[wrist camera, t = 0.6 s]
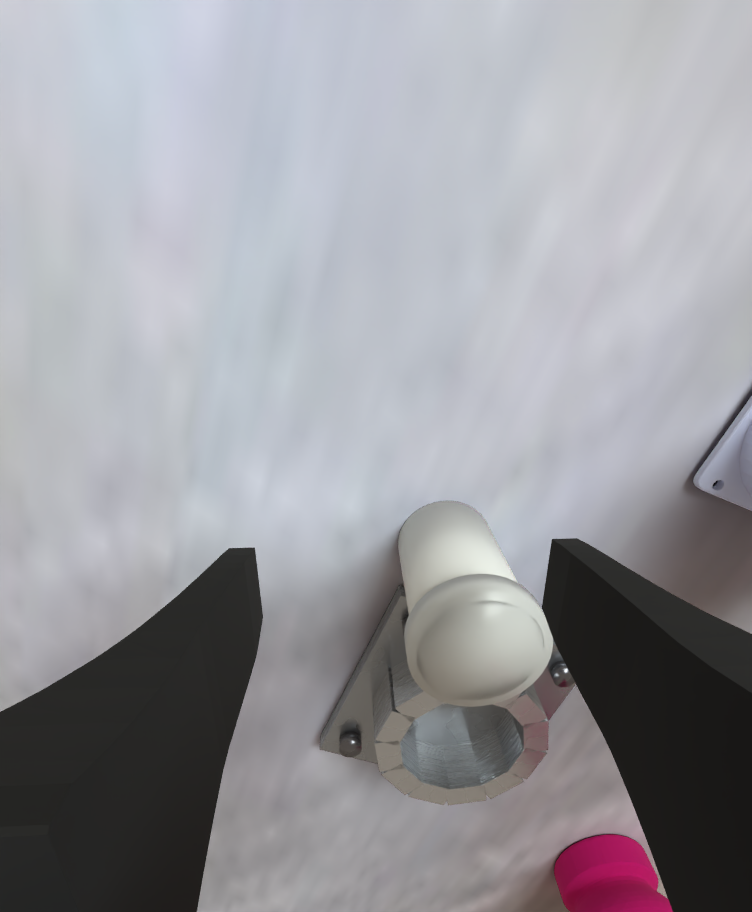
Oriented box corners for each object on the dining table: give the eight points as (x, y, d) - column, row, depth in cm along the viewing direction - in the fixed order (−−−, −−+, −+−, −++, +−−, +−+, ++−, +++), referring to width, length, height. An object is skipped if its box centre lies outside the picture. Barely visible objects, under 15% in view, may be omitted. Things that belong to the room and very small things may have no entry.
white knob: (515, 515, 23) (580, 618, 16) (467, 597, 24) (508, 720, 18) (418, 479, 22) (446, 573, 15) (375, 567, 23) (384, 685, 17)
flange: (588, 646, 26) (618, 696, 23) (491, 779, 30) (506, 837, 27) (399, 585, 24) (406, 631, 21) (320, 735, 27) (316, 793, 25)
